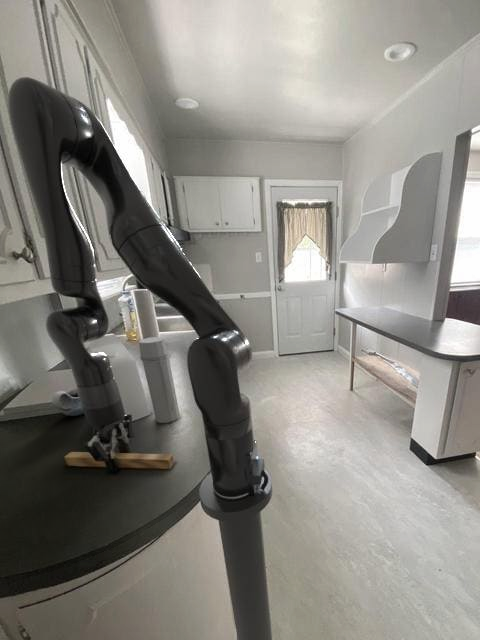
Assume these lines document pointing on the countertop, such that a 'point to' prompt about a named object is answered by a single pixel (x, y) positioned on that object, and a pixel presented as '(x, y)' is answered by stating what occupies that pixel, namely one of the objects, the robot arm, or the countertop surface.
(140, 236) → the robot arm
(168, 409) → the water bottle
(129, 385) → the milk
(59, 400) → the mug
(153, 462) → the stick
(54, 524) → the countertop surface
